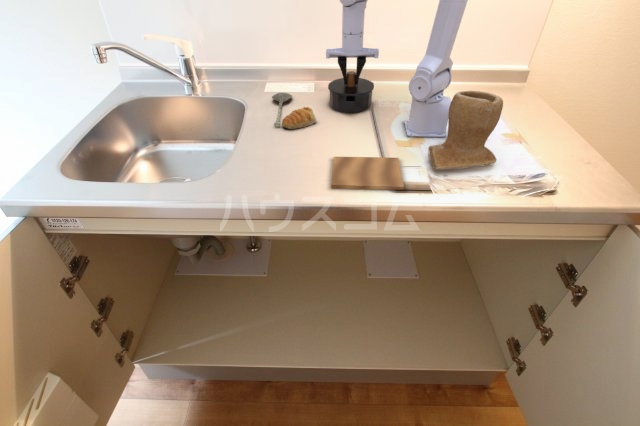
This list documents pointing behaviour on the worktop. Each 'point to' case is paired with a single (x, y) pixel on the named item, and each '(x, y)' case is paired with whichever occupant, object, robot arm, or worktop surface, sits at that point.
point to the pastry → (299, 118)
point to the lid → (351, 86)
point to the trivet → (367, 173)
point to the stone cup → (468, 131)
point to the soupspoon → (280, 104)
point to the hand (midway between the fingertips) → (351, 83)
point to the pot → (350, 103)
